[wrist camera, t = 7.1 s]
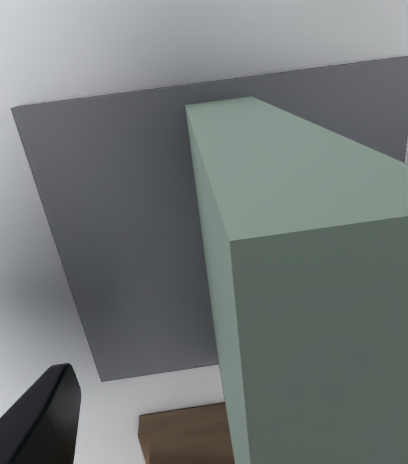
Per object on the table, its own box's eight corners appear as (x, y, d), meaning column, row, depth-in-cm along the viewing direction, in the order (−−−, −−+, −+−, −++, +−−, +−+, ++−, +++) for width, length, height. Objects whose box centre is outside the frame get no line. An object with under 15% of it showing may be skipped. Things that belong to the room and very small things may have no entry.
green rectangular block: (265, 348, 15) (374, 681, 7) (217, 355, 15) (273, 699, 7) (251, 96, 11) (496, 203, 3) (184, 104, 11) (228, 241, 3)
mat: (374, 332, 16) (381, 340, 15) (103, 372, 16) (101, 381, 15) (408, 56, 11) (418, 55, 11) (17, 106, 11) (10, 108, 10)
